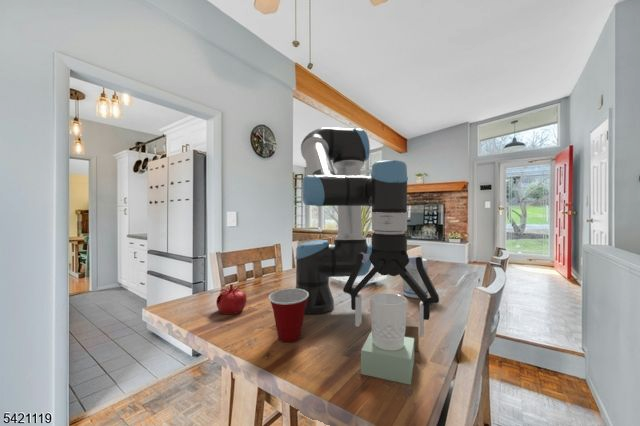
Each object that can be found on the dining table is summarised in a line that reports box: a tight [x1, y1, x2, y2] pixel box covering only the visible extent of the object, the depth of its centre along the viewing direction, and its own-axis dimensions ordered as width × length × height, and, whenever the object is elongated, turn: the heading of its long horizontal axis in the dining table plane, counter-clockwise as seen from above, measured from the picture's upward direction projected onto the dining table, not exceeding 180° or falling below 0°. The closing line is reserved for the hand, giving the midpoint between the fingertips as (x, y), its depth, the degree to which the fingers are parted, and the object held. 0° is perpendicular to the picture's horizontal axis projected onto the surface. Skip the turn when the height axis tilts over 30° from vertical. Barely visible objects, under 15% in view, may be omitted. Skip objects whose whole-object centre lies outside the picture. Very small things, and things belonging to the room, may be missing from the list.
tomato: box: [215, 283, 248, 315], centre depth 97 cm, size 10×10×9 cm
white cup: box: [369, 292, 408, 351], centre depth 62 cm, size 8×8×10 cm
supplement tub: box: [402, 257, 429, 299], centre depth 114 cm, size 10×10×15 cm
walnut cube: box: [405, 316, 420, 352], centre depth 73 cm, size 6×6×6 cm
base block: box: [360, 330, 415, 386], centre depth 62 cm, size 10×10×5 cm
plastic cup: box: [268, 287, 309, 343], centre depth 76 cm, size 11×11×12 cm
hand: (388, 329), depth 62 cm, fingers open, 13 cm apart
